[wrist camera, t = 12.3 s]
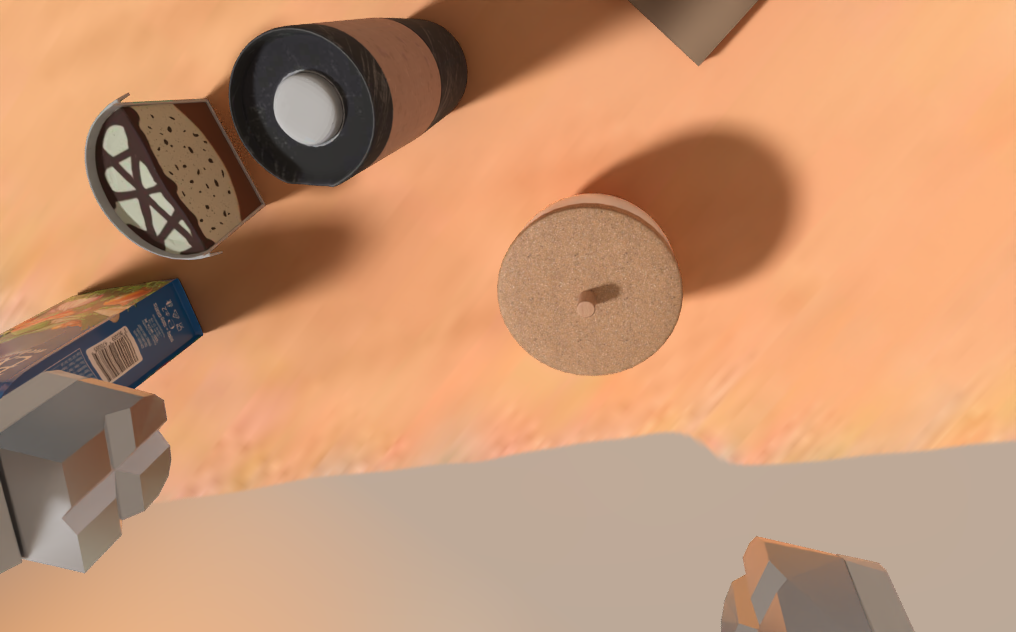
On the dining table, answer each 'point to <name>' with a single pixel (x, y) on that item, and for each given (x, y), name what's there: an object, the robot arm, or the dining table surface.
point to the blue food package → (102, 336)
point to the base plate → (695, 22)
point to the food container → (169, 176)
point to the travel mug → (342, 94)
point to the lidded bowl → (590, 286)
